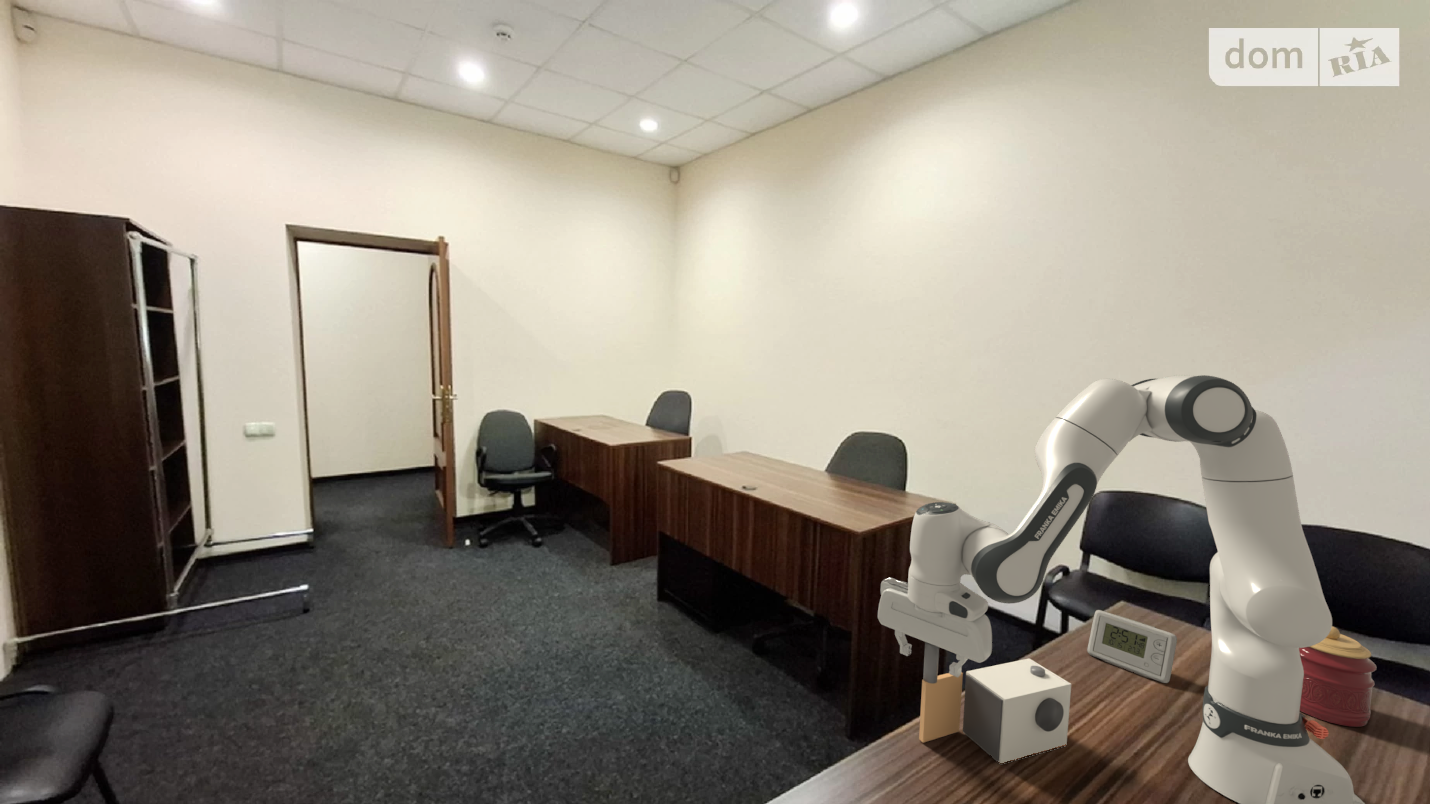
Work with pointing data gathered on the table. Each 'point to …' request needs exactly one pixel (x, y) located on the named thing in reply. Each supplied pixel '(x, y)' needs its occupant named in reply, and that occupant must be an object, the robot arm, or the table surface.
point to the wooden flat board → (938, 699)
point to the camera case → (1016, 709)
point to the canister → (1337, 680)
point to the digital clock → (1132, 645)
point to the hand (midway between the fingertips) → (929, 664)
